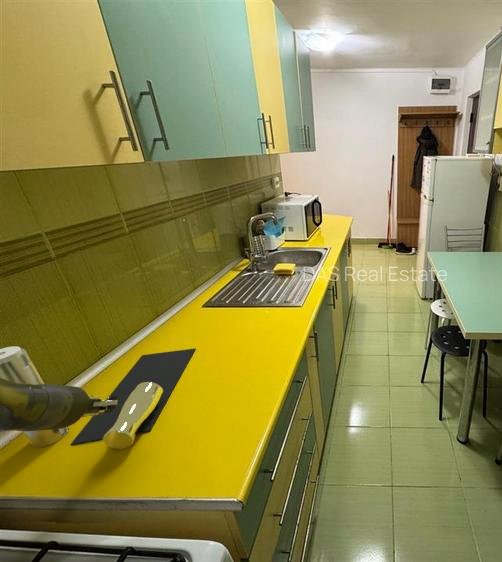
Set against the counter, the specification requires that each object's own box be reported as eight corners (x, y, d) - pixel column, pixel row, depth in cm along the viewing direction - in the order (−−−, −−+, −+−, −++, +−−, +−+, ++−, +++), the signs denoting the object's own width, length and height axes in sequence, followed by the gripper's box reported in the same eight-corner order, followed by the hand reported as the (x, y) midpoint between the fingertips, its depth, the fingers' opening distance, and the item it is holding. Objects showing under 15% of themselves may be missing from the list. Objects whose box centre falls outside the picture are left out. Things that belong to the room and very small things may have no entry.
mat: (70, 445, 73) (70, 444, 72) (142, 355, 105) (142, 354, 105) (150, 431, 76) (149, 430, 76) (196, 349, 108) (195, 348, 108)
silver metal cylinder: (41, 451, 71) (-13, 365, 61) (26, 443, 73) (-29, 358, 63) (75, 429, 77) (30, 347, 67) (59, 423, 79) (14, 342, 69)
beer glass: (101, 428, 68) (137, 378, 81) (98, 448, 70) (133, 396, 83) (137, 433, 70) (166, 384, 83) (133, 452, 73) (161, 401, 86)
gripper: (93, 379, 56) (144, 385, 72) (7, 390, 54) (80, 395, 69) (85, 423, 53) (140, 420, 69) (-6, 437, 51) (73, 430, 67)
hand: (110, 407), depth 69 cm, fingers closed
